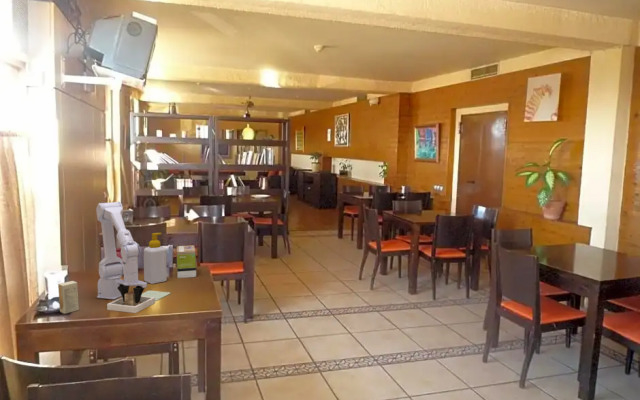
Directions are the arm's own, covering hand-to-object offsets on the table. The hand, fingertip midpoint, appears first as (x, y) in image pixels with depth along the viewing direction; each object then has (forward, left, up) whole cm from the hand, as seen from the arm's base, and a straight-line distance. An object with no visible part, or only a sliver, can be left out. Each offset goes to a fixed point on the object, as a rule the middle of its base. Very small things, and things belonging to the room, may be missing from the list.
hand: (131, 302), depth 205 cm
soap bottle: (-13, +37, -2) cm, 39 cm away
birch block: (0, 0, -2) cm, 2 cm away
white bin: (0, 0, -2) cm, 2 cm away
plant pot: (-38, +47, -2) cm, 60 cm away
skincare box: (-21, -13, -2) cm, 25 cm away
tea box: (-5, +54, -2) cm, 55 cm away
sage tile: (0, +15, -2) cm, 15 cm away
